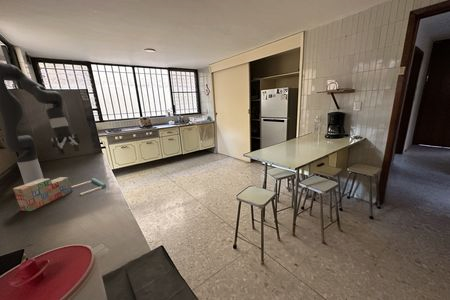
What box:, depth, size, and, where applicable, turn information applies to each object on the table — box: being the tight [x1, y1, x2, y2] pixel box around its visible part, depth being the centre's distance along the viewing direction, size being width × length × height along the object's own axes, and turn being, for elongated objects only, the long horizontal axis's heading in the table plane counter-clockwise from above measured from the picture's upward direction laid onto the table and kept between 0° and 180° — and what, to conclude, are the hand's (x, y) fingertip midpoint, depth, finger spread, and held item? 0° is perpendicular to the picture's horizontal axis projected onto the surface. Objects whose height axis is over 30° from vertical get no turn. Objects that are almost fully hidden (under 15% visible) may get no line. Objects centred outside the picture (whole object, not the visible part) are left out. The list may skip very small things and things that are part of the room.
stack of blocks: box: [12, 176, 73, 212], centre depth 100 cm, size 21×6×12 cm, turn 168°
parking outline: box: [71, 177, 107, 196], centre depth 115 cm, size 19×13×2 cm
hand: (70, 152), depth 110 cm, fingers open, 8 cm apart
